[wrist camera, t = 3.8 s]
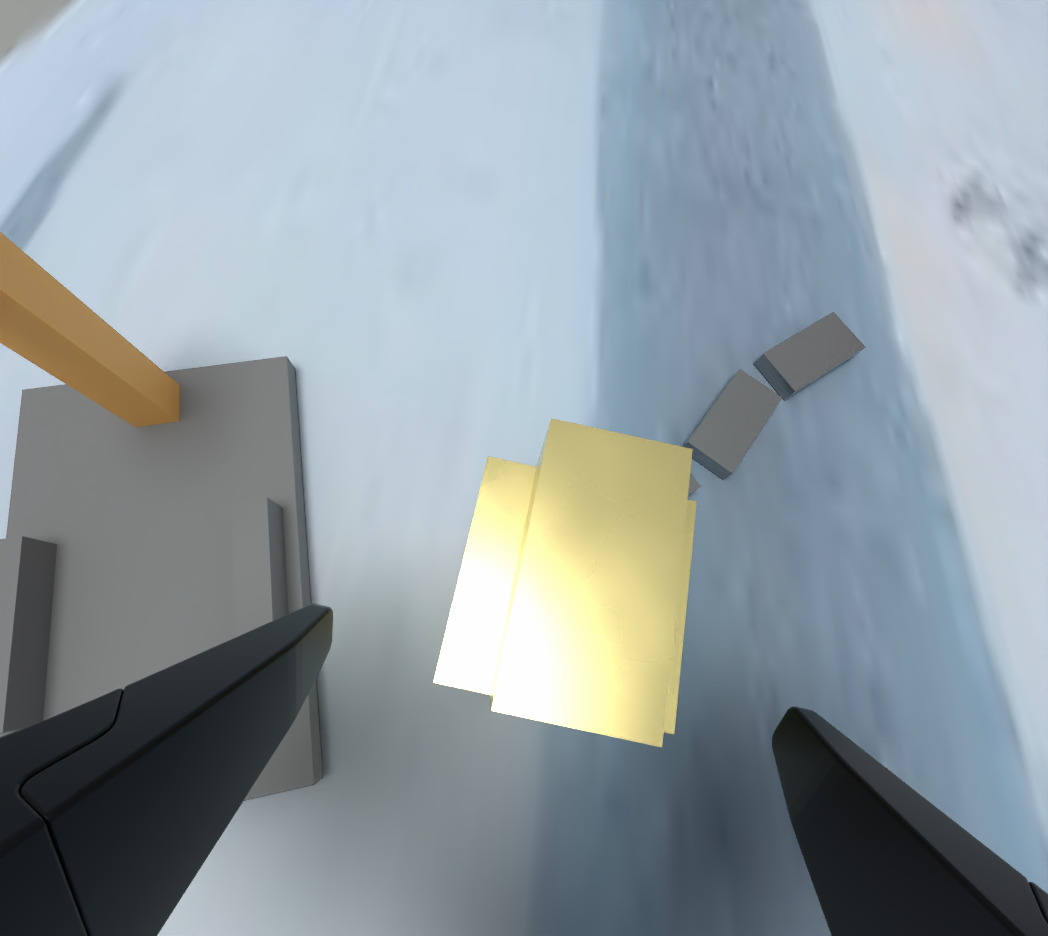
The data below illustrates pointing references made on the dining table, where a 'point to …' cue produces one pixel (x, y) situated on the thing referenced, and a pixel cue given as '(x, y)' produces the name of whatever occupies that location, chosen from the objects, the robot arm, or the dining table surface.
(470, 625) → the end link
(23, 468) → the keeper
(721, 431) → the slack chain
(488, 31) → the dining table surface
